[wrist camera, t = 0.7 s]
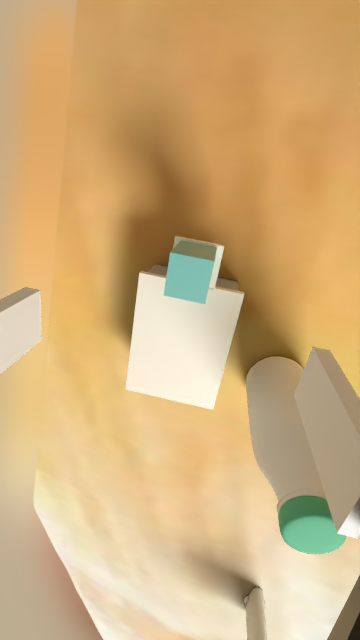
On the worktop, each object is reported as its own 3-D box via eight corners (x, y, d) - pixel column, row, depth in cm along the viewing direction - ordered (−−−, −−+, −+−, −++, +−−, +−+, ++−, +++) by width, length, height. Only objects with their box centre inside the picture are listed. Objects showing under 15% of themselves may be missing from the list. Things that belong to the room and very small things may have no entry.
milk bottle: (234, 385, 42) (238, 538, 23) (269, 343, 38) (306, 483, 20) (281, 412, 42) (320, 582, 24) (319, 374, 39) (398, 535, 21)
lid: (146, 229, 30) (124, 240, 24) (255, 251, 29) (262, 268, 23) (127, 385, 38) (108, 424, 32) (213, 405, 37) (210, 448, 31)
